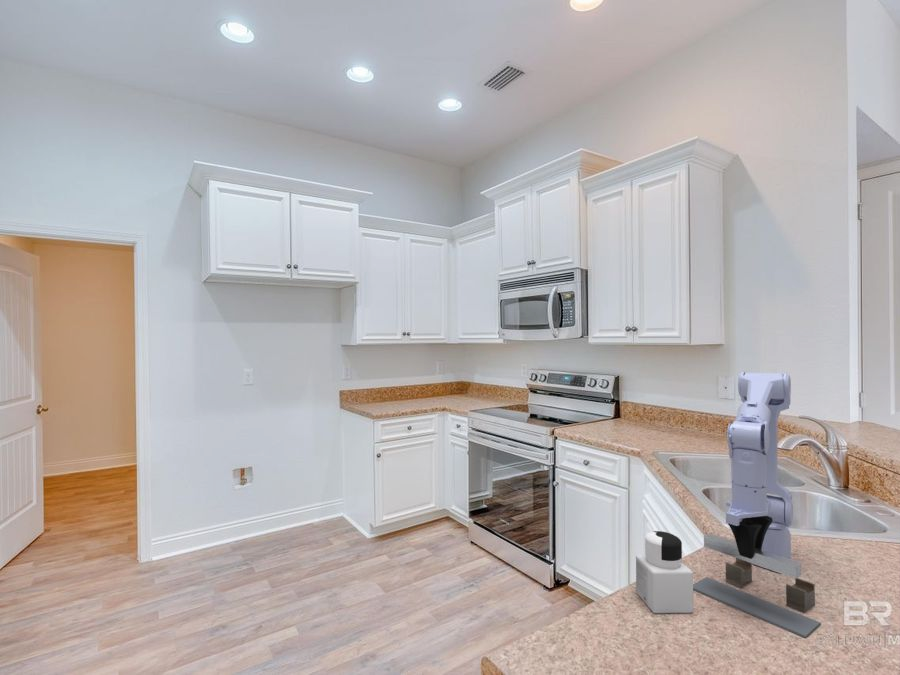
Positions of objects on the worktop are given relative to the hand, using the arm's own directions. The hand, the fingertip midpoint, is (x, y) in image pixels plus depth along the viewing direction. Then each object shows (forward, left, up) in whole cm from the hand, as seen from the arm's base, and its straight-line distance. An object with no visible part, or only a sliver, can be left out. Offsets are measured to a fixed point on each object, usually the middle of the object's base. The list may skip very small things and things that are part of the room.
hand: (749, 554), depth 89 cm
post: (-8, +5, -10) cm, 14 cm away
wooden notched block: (-8, -6, -10) cm, 14 cm away
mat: (0, 0, -10) cm, 10 cm away
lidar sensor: (+13, -10, -10) cm, 19 cm away
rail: (0, 0, -1) cm, 1 cm away
